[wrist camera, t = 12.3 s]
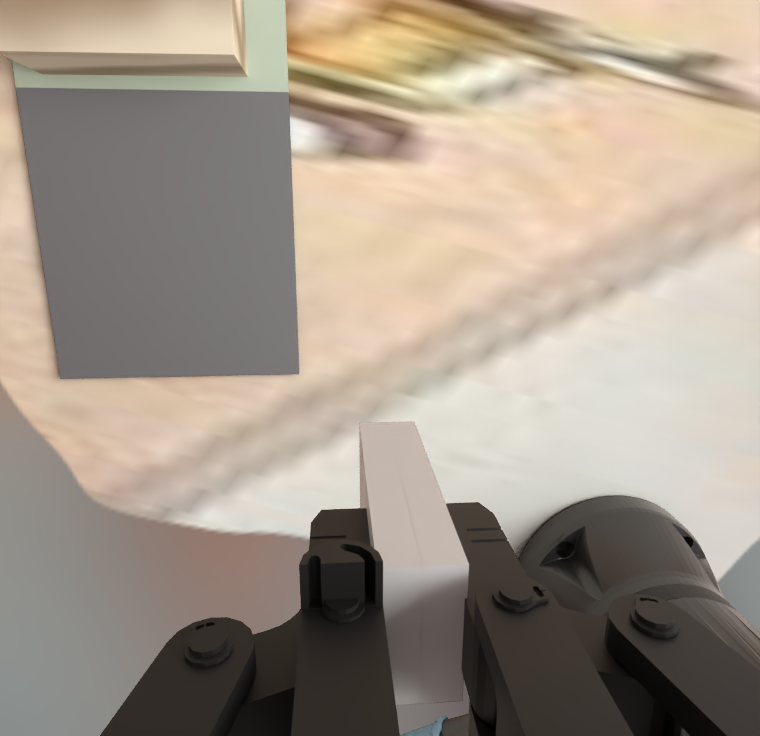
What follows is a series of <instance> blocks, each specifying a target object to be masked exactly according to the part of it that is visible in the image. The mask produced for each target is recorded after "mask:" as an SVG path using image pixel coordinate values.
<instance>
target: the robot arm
mask: <svg viewBox="0 0 760 736" xmlns="http://www.w3.org/2000/svg"><path fill="white" fill-rule="evenodd" d="M359 427H360V508H359V509H333V510H321V511H320V512H319V514H318V515H317V516H316V517H315V519H314V520H313V521H312V522H311V532H310V546H309V551H308V552H307V553H306V554H304V555H303V557H302V560H301V562H300V565H299V570H300V595H301V609H300V611H299V612H298V613H297V614H296V615H295V616H294V617H293V618H291V619H290V620H289V621H287V622H285V623H284V624H282V625H280V626H278V627H275V628H273V629H270V630H267V631H264V632H261V633H257V634H254V635H253V634H252V631H251V629H250V628H249V627H247V626H246V625H245V624H244V623H243V622H241V621H238V620H234V619H231V618H227V617H226V618H209V619H205V620H201V621H198V622H194V623H192V624H190V625H189V626H187V627H185V628H183V629H181V630H180V631H178V632H177V633H176V634H175V635H174V636H173V637H172V638H171V639H170V640H169V641H168V642H167V643H166V645H165V646H164V648H163V649H162V650H161V651H160V653H159V654H158V656H157V657H156V658H155V660H154V661H153V663H152V664H151V665H150V667H149V668H148V670H147V671H146V672H145V674H144V675H143V677H142V678H141V679H140V681H139V682H138V684H137V685H136V686H135V688H134V689H133V690H132V692H131V693H130V695H129V696H128V698H127V699H126V700H125V702H124V703H123V705H122V706H121V707H120V709H119V710H118V711H117V713H116V714H115V716H114V717H113V718H112V720H111V721H110V723H109V724H108V725H107V727H106V728H105V729H104V731H103V732H102V734H101V735H100V736H760V633H759V632H758V631H757V630H756V629H755V628H754V627H753V626H752V625H751V624H750V623H749V622H748V621H747V620H746V619H745V618H744V617H743V616H742V615H740V614H739V613H738V612H737V611H736V610H735V609H734V608H733V607H732V606H731V605H730V603H729V602H728V601H727V600H726V599H725V597H724V595H723V593H722V591H721V589H720V587H719V585H718V582H717V580H716V578H715V576H714V574H713V572H712V570H711V568H710V565H709V563H708V561H707V559H706V557H705V555H704V553H703V551H702V549H701V547H700V545H699V544H698V542H697V541H696V539H695V538H694V537H693V535H692V534H691V533H690V532H689V531H688V530H687V529H686V528H685V527H684V526H683V525H682V524H681V523H680V522H678V521H677V520H676V519H675V518H674V517H673V516H672V515H671V514H669V513H668V512H667V511H666V510H664V509H663V508H661V507H659V506H657V505H655V504H653V503H651V502H649V501H646V500H642V499H639V498H634V497H627V496H607V497H600V498H595V499H591V500H587V501H584V502H581V503H578V504H576V505H574V506H571V507H569V508H567V509H565V510H564V511H562V512H560V513H559V514H557V515H556V516H554V517H553V518H552V519H550V520H549V521H548V522H547V523H545V524H544V525H543V526H542V527H541V528H540V529H539V530H538V531H537V532H536V533H535V534H534V536H533V537H532V538H531V539H530V541H529V542H528V544H527V545H526V547H525V548H524V550H523V552H522V554H521V556H520V558H519V560H518V559H517V557H516V555H515V553H514V551H513V549H512V548H511V546H510V544H509V542H508V541H507V538H506V536H505V534H504V533H503V531H502V530H501V527H500V525H499V523H498V521H497V519H496V517H495V516H494V514H493V513H492V512H491V511H489V510H488V509H487V508H485V507H484V506H482V505H481V504H480V503H478V502H475V503H448V504H446V503H445V501H444V498H443V495H442V493H441V490H440V488H439V485H438V482H437V480H436V477H435V475H434V472H433V469H432V467H431V464H430V462H429V459H428V456H427V454H426V451H425V449H424V446H423V443H422V441H421V438H420V435H419V433H418V430H417V428H416V425H415V422H380V423H359ZM463 679H464V680H465V684H466V687H467V691H468V695H469V698H470V703H469V704H470V705H469V714H466V715H462V716H459V717H455V718H451V719H448V718H447V717H446V716H443V717H439V718H437V720H436V721H435V723H433V724H430V725H427V726H425V727H422V728H419V729H416V730H413V731H411V732H408V733H405V734H403V735H400V734H399V727H398V720H397V711H396V705H411V704H426V703H441V702H457V701H462V699H463Z"/></svg>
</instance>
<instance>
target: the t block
mask: <svg viewBox="0 0 760 736" xmlns="http://www.w3.org/2000/svg"><path fill="white" fill-rule="evenodd" d="M0 54H1V55H3V56H5V57H7V58H9V59H11V60H13V61H16V62H18V63H20V64H22V65H24V66H26V67H28V68H30V69H32V70H34V71H36V72H39V73H41V74H53V75H132V76H211V77H248V66H247V49H246V32H245V16H244V0H0Z"/></svg>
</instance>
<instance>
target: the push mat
mask: <svg viewBox="0 0 760 736" xmlns="http://www.w3.org/2000/svg"><path fill="white" fill-rule="evenodd" d="M244 16H245V32H246V49H247V66H248V77H211V76H132V75H53V74H41V73H39V72H36V71H34V70H32V69H30V68H28V67H26V66H24V65H22V64H20V63H18V62H16V61H13V60H12V66H13V72H14V79H15V85H16V92H17V98H18V105H19V112H20V118H21V125H22V131H23V138H24V144H25V151H26V157H27V164H28V170H29V177H30V183H31V190H32V196H33V203H34V209H35V216H36V222H37V229H38V236H39V242H40V249H41V255H42V262H43V268H44V275H45V281H46V288H47V294H48V301H49V307H50V314H51V320H52V327H53V333H54V340H55V346H56V353H57V360H58V366H59V373H60V379H79V378H129V377H180V376H230V375H281V374H299V353H298V327H297V300H296V274H295V247H294V221H293V194H292V168H291V141H290V115H289V88H288V62H287V35H286V9H285V0H244Z"/></svg>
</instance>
